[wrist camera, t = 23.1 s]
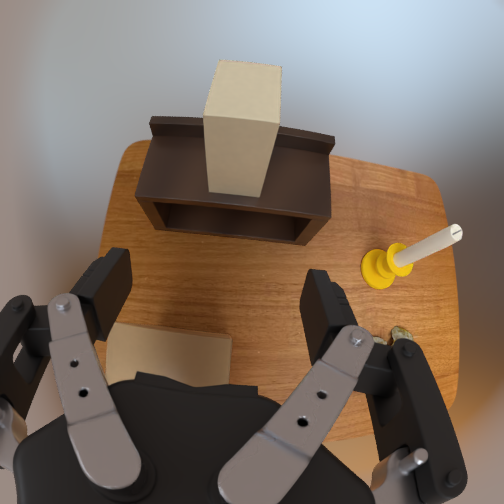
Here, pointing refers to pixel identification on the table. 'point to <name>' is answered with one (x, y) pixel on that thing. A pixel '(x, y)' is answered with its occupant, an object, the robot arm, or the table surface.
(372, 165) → the table surface
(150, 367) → the block
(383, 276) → the candle
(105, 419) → the robot arm
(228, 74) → the snack box
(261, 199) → the shelf
